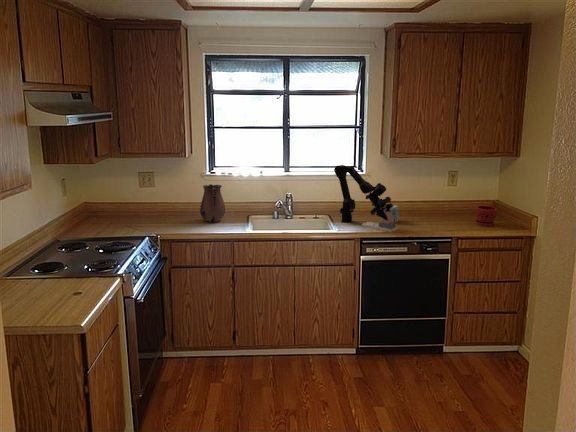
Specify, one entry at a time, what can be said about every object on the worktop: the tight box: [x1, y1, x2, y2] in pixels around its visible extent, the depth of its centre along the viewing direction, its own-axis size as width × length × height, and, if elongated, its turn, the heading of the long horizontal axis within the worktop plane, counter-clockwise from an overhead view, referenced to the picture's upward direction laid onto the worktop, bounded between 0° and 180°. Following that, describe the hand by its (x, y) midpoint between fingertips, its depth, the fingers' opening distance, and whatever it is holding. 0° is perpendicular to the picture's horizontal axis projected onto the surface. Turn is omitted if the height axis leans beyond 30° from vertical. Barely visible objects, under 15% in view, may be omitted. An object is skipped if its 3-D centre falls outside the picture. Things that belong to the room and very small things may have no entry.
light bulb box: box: [390, 204, 400, 223], centre depth 343 cm, size 11×7×11 cm, turn 143°
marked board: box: [361, 221, 398, 233], centre depth 326 cm, size 22×8×2 cm, turn 46°
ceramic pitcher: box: [199, 183, 226, 223], centre depth 344 cm, size 18×21×25 cm
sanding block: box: [378, 211, 397, 229], centre depth 321 cm, size 9×6×10 cm, turn 46°
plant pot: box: [475, 205, 498, 227], centre depth 333 cm, size 13×13×12 cm
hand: (389, 219), depth 320 cm, fingers closed on sanding block, 4 cm apart
